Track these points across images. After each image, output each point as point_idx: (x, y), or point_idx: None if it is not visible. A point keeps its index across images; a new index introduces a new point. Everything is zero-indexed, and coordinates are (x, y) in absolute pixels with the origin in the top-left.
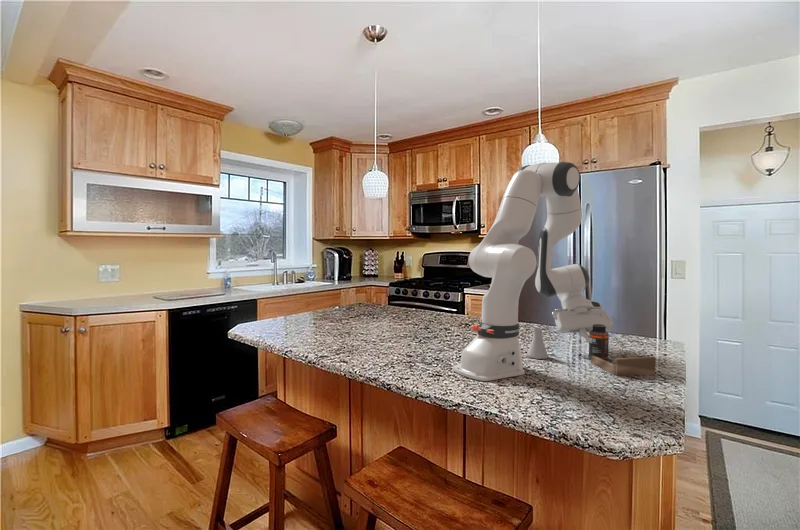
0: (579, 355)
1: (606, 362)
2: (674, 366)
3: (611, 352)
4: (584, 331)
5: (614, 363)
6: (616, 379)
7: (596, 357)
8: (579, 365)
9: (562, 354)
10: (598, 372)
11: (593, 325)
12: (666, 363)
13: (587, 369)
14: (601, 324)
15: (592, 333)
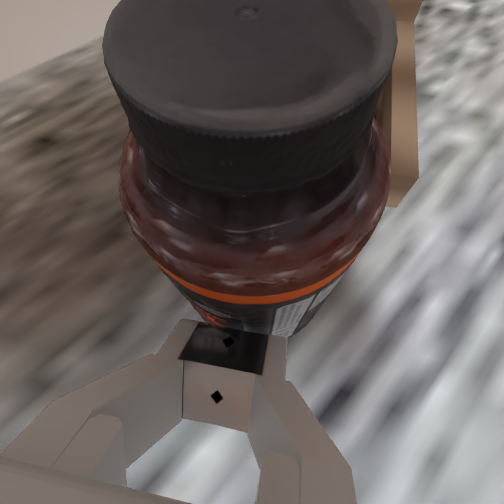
0: (350, 388)
1: (409, 66)
2: (31, 80)
3: (30, 373)
4: (313, 458)
5: (421, 3)
6: (424, 32)
7: (403, 142)
8: (492, 197)
9: (492, 475)
10: (448, 97)
11: (394, 47)
12: (8, 113)
13: (481, 138)
14: (115, 49)
15: (388, 149)
